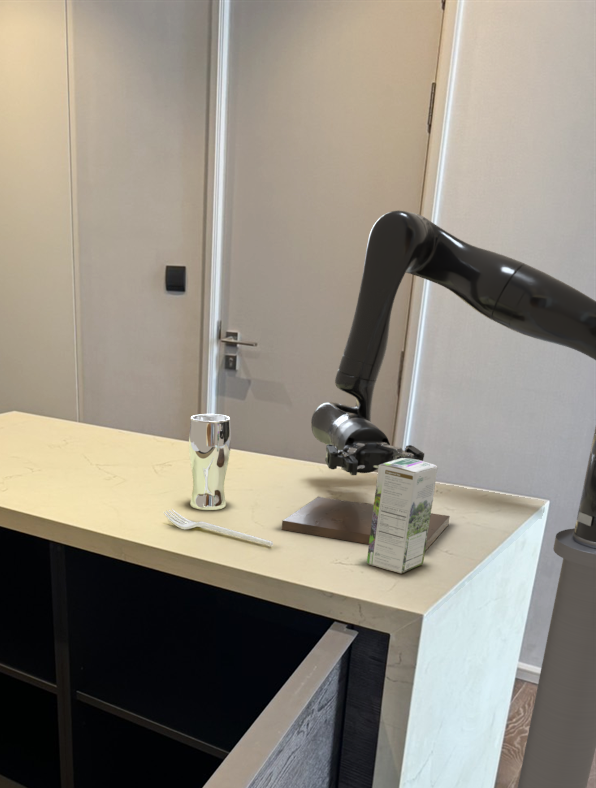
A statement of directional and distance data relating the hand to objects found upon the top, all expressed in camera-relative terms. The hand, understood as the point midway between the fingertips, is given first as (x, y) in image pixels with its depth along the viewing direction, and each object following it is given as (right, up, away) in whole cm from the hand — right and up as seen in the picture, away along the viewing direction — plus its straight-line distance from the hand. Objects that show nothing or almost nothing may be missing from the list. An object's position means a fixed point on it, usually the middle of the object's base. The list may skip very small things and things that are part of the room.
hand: (384, 469), depth 127 cm
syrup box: (0, -14, -6) cm, 16 cm away
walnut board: (0, -8, +10) cm, 13 cm away
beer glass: (-24, -3, +21) cm, 33 cm away
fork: (-24, -9, +7) cm, 27 cm away
